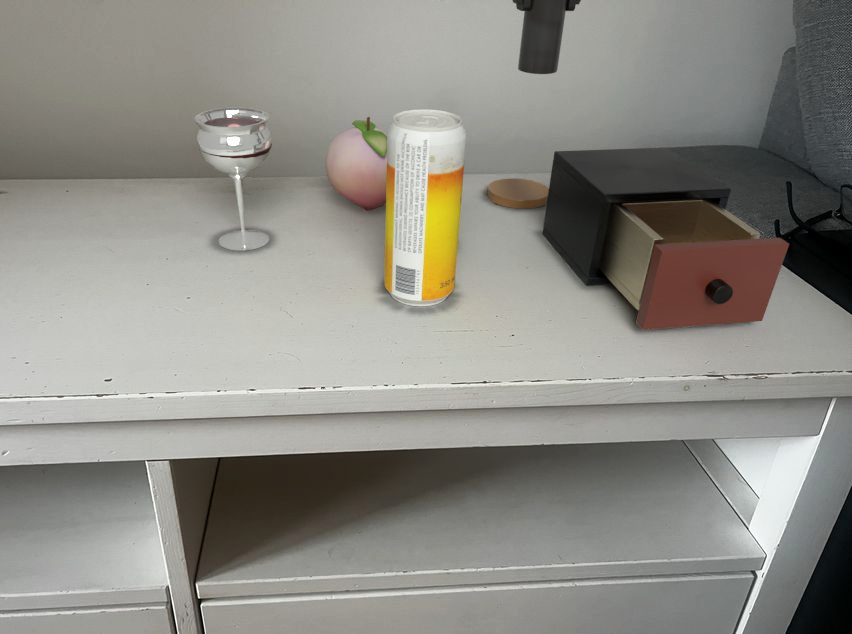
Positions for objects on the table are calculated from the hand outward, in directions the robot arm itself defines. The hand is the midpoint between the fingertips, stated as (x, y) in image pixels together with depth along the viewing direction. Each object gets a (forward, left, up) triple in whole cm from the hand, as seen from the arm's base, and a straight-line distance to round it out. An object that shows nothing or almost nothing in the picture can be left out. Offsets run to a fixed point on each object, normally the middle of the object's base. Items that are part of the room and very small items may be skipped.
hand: (545, 9), depth 71 cm
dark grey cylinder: (0, 0, -6) cm, 6 cm away
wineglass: (+31, +7, -20) cm, 38 cm away
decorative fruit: (+18, +1, -20) cm, 27 cm away
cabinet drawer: (-5, +26, -19) cm, 32 cm away
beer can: (+16, +20, -20) cm, 33 cm away
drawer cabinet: (-5, +15, -20) cm, 26 cm away
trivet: (0, -1, -20) cm, 20 cm away
